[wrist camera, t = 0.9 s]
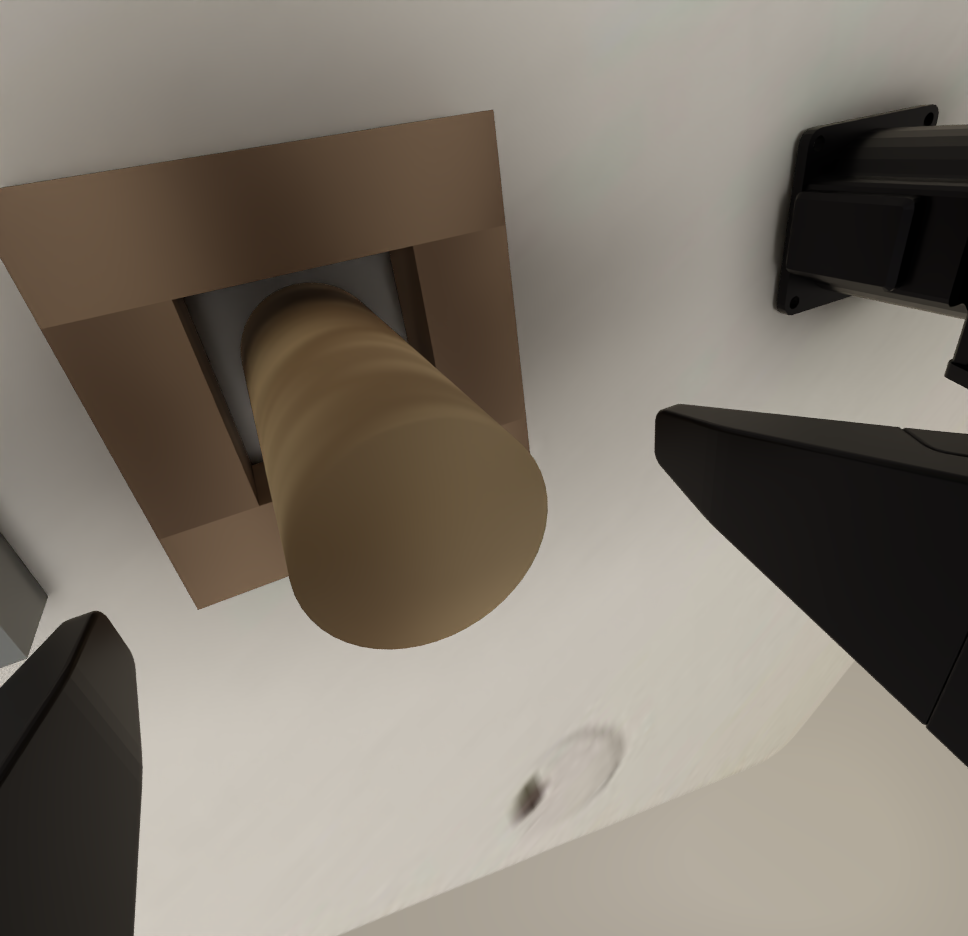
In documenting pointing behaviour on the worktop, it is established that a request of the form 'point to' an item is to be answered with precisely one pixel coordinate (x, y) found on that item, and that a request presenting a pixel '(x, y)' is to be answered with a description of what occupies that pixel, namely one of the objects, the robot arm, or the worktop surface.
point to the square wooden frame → (247, 258)
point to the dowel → (383, 475)
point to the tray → (17, 606)
